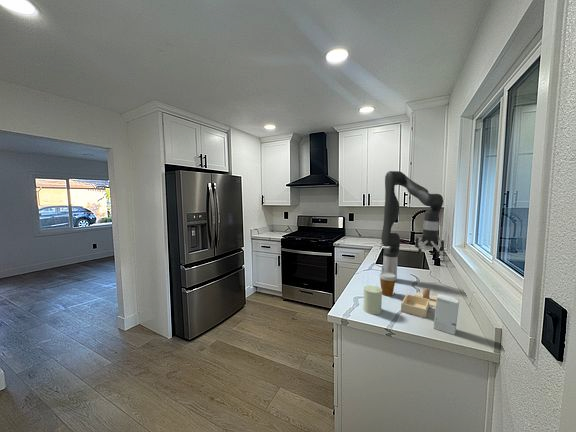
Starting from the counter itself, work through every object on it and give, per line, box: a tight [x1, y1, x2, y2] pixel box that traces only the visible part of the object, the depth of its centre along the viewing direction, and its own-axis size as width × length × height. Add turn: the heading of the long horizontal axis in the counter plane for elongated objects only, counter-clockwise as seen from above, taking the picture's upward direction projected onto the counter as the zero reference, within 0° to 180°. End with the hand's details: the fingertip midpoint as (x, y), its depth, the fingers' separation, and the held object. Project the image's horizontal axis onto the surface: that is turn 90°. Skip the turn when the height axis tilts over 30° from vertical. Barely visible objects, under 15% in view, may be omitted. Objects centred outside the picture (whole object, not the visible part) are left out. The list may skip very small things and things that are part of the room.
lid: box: [414, 287, 438, 308], centre depth 136 cm, size 11×14×7 cm
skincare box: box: [433, 293, 460, 336], centre depth 106 cm, size 8×6×15 cm
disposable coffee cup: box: [379, 272, 396, 297], centre depth 143 cm, size 10×10×12 cm
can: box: [362, 285, 383, 315], centre depth 124 cm, size 9×9×12 cm
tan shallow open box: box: [400, 293, 430, 319], centre depth 125 cm, size 11×14×4 cm
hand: (428, 256), depth 138 cm, fingers open, 8 cm apart
